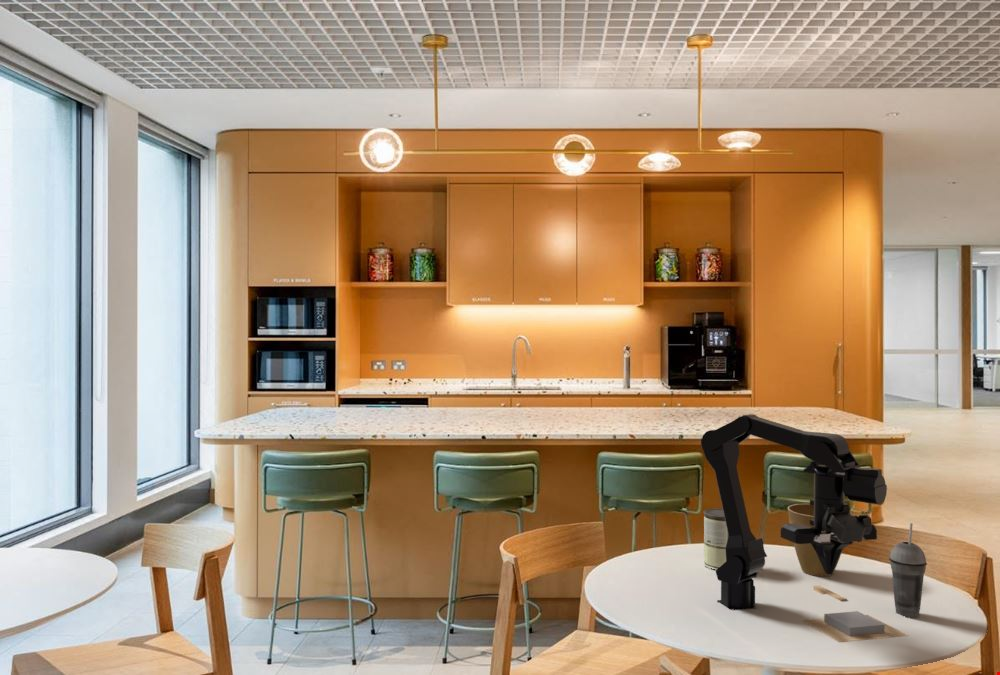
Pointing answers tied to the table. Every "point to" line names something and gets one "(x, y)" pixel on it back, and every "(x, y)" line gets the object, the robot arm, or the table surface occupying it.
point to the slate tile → (854, 623)
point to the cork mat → (843, 637)
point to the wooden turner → (826, 591)
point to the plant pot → (806, 551)
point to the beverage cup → (907, 576)
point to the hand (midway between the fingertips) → (828, 574)
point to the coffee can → (715, 538)
